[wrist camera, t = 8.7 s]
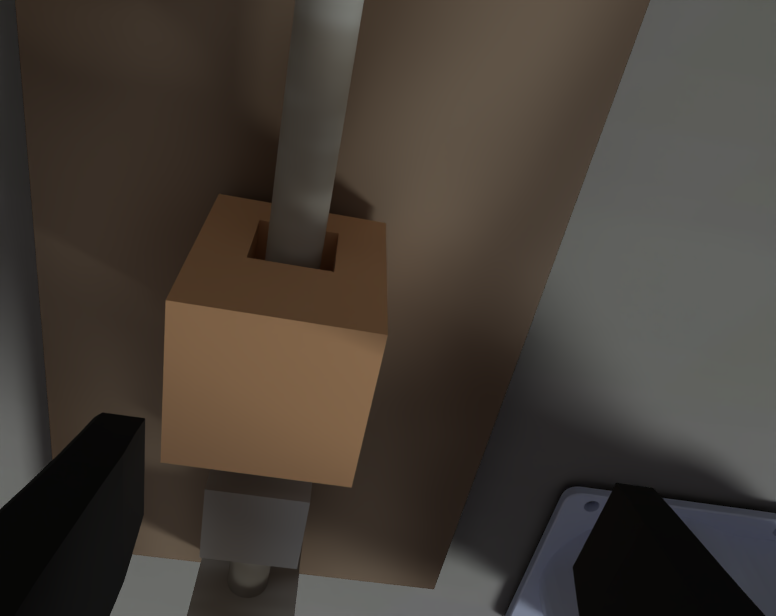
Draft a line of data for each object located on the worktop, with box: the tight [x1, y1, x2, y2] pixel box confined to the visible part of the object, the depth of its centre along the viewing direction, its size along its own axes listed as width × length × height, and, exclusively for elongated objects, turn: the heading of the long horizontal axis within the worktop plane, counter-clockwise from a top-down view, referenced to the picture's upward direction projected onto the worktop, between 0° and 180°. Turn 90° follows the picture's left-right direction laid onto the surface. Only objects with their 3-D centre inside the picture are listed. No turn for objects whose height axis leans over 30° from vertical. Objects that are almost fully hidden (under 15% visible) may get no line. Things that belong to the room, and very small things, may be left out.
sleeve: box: [160, 194, 388, 488], centre depth 16 cm, size 4×4×5 cm
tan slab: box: [15, 0, 650, 616], centre depth 16 cm, size 13×28×5 cm, turn 169°
